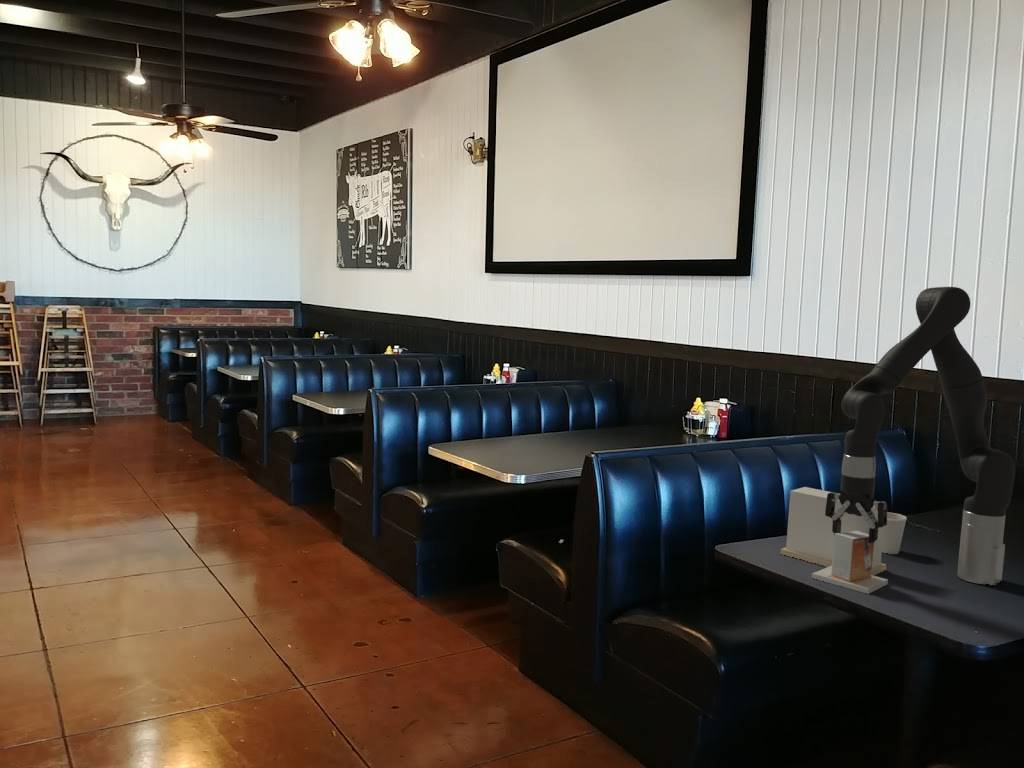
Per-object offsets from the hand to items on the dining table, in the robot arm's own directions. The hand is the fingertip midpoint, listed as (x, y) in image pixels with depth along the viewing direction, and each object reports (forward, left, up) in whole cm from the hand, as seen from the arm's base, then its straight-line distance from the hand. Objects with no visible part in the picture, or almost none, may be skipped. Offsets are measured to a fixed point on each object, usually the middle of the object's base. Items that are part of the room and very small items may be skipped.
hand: (854, 538), depth 209 cm
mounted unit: (+10, -11, -11) cm, 19 cm away
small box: (0, 0, -10) cm, 10 cm away
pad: (0, 0, -11) cm, 11 cm away
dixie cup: (+5, -34, -11) cm, 36 cm away
